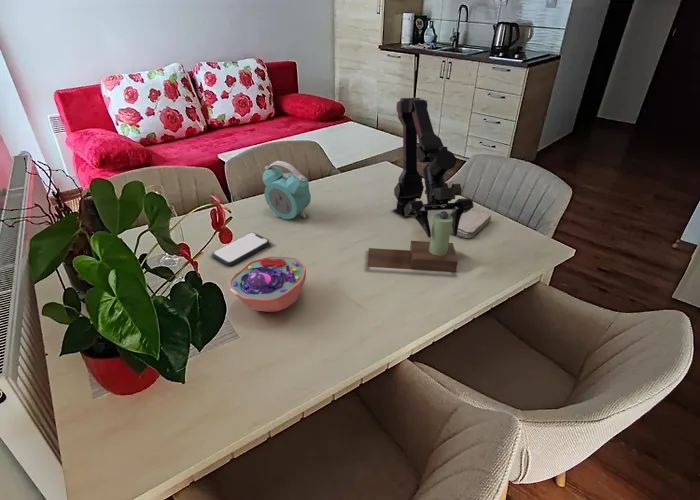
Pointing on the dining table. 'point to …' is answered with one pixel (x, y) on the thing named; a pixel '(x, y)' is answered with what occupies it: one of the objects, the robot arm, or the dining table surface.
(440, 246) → the pepper mill
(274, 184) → the alarm clock
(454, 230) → the robot arm
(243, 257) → the smartphone
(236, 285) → the cell model
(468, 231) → the washcloth
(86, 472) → the dining table surface
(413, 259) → the spice riser
